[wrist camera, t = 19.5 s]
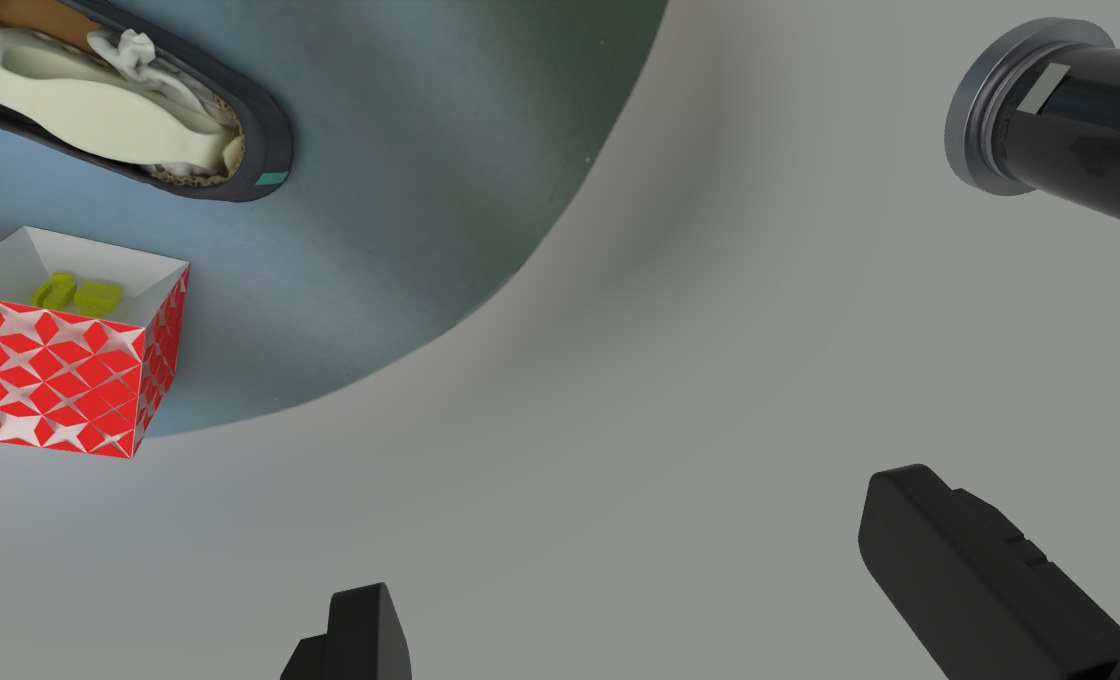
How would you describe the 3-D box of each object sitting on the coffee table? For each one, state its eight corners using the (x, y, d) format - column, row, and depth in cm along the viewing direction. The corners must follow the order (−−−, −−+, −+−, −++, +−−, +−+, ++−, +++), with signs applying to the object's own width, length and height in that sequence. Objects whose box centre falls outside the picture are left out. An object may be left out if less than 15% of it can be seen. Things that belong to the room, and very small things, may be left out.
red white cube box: (190, 261, 38) (145, 328, 31) (175, 376, 41) (132, 459, 34) (21, 224, 35) (-67, 288, 28) (19, 350, 38) (-60, 434, 32)
